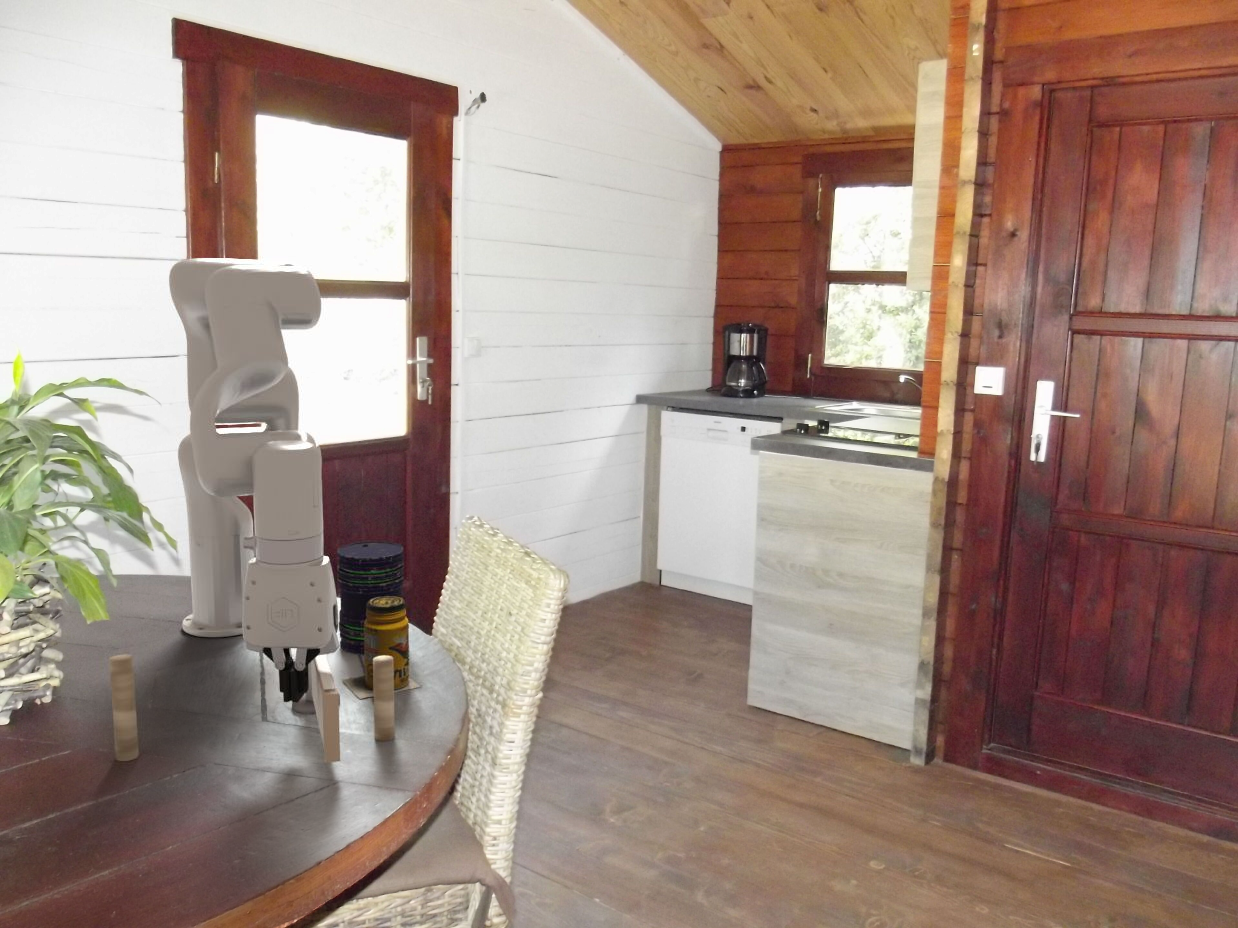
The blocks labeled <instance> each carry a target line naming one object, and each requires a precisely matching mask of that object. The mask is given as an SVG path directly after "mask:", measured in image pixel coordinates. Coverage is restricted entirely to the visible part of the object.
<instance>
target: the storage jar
mask: <svg viewBox="0 0 1238 928" xmlns="http://www.w3.org/2000/svg"><path fill="white" fill-rule="evenodd" d="M403 555H404V547H403V546H402V545H400V544H399V543H394V542H390V541H389V542H388V541H361V542H354V543H348V544H345V545H343V546H341V547H339V548H338V549H337V557H338V560H337V576H338V577H337V578H338V580H337V583H338V588H339V589H340V592H339V593H340V610H338V632H339V638H340V641H339V645H340V646H339V648H340V649H341V650H342V651H344V652H345V653H347V654H352V655H357V656H364V622H365V620H366V619H367V617H366V612H367V608H366V605H367V603H368V601H369V600H371V599H373V598H376V597H382V596H395V597H399V598H402V599H403V585H404V583H405V582H404V581H405V577H404V576H405V575H404V573H405V564H404V556H403Z"/></svg>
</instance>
